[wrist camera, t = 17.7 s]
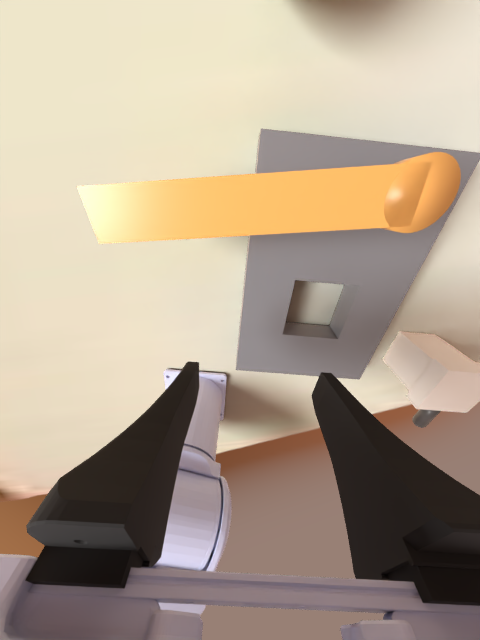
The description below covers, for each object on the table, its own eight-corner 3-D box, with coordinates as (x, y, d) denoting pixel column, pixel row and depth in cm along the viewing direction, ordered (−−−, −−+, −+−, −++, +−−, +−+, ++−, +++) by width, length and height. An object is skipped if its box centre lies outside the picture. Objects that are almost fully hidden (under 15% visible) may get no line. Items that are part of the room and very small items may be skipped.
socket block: (349, 363, 25) (381, 413, 19) (236, 355, 25) (234, 403, 19) (448, 160, 15) (581, 133, 9) (258, 139, 14) (268, 97, 9)
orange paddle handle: (117, 244, 12) (101, 249, 10) (95, 181, 10) (73, 178, 9) (417, 227, 11) (441, 231, 9) (443, 156, 9) (475, 148, 8)
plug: (403, 384, 27) (445, 433, 21) (366, 381, 26) (398, 429, 21) (441, 331, 22) (506, 375, 17) (397, 327, 22) (449, 370, 17)
